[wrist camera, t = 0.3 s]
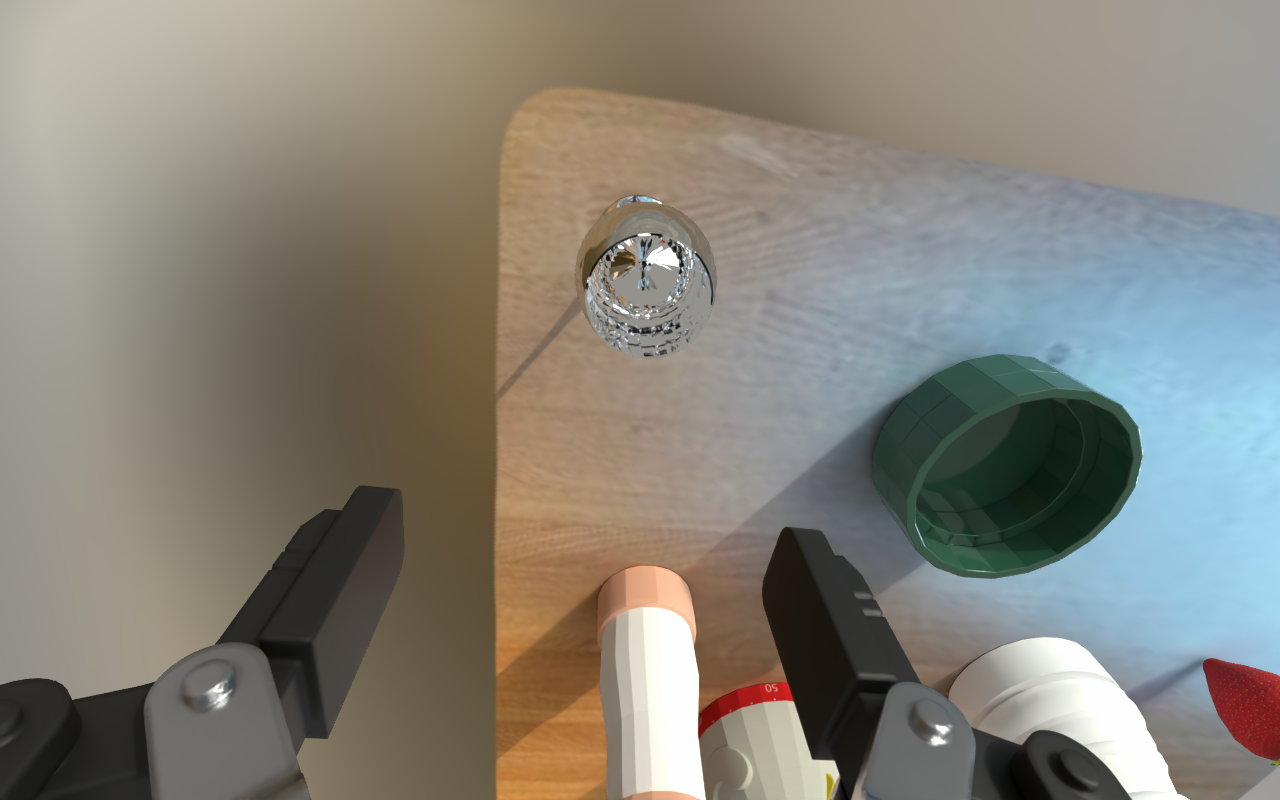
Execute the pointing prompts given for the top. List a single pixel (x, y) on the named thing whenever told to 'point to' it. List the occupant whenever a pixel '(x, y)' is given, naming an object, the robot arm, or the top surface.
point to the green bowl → (1005, 466)
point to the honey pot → (1063, 708)
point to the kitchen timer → (760, 749)
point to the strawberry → (1247, 705)
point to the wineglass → (646, 278)
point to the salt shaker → (649, 686)
